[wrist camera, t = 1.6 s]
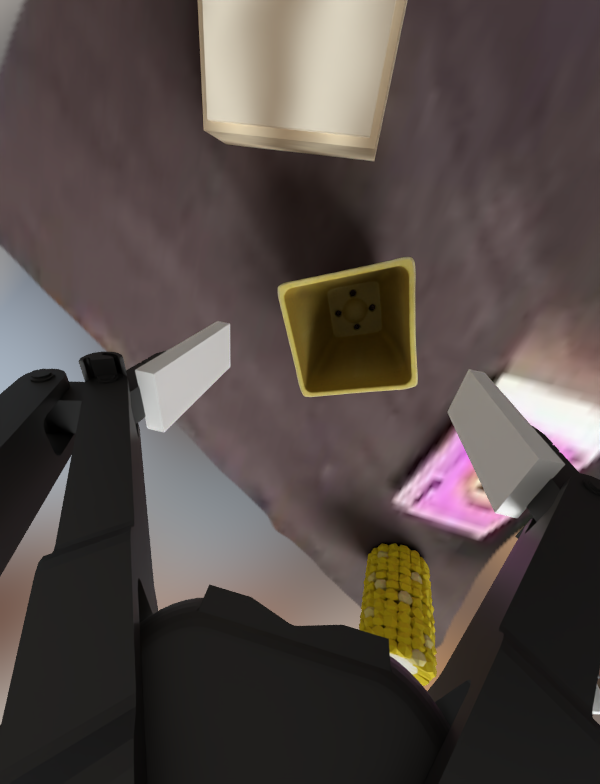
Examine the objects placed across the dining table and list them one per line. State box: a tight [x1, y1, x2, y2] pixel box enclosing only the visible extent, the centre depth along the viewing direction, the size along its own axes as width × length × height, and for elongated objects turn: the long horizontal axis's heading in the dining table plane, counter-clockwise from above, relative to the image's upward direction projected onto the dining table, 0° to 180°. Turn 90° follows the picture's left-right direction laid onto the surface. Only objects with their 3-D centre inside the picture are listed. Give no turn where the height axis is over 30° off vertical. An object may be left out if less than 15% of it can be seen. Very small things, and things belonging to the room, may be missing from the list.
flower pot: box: [278, 257, 418, 397], centre depth 23 cm, size 9×9×9 cm
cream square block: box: [198, 0, 407, 161], centre depth 17 cm, size 12×12×4 cm
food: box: [359, 543, 437, 686], centre depth 39 cm, size 15×12×10 cm
